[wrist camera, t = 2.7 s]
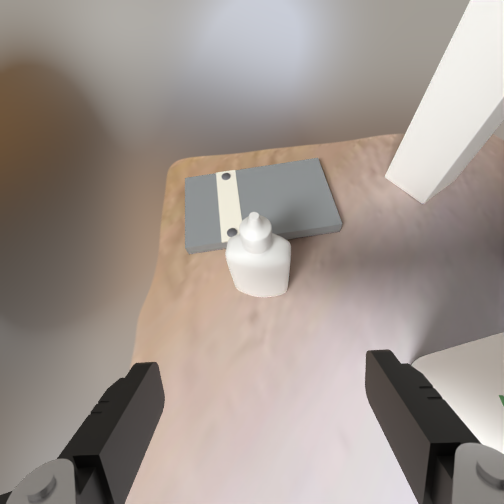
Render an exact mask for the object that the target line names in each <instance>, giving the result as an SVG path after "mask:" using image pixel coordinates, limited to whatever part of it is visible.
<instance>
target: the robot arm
mask: <svg viewBox="0 0 504 504" xmlns="http://www.w3.org/2000/svg"><path fill="white" fill-rule="evenodd" d="M365 389H366V394H367V398H368V401H369V404H370V406H371V408H372V410H373V412H374V414H375V416H376V418H377V420H378V422H379V424H380V426H381V428H382V430H383V432H384V434H385V436H386V438H387V440H388V442H389V444H390V446H391V448H392V450H393V453H394V455H395V457H396V459H397V461H398V463H399V465H400V467H401V469H402V471H403V473H404V475H405V477H406V479H407V481H408V483H409V485H410V487H411V489H412V491H413V493H414V495H415V497H416V499H417V501H418V503H419V504H504V454H503V453H501V452H499V451H498V450H495V449H493V448H491V447H488V446H486V445H482V444H481V442H480V441H479V440H478V439H477V438H476V437H475V435H474V434H473V433H472V432H471V431H470V429H469V428H468V427H467V426H466V425H465V423H464V422H463V421H462V420H461V419H460V418H459V416H458V415H457V414H456V413H455V412H454V410H453V409H452V408H451V407H450V406H449V404H448V403H447V402H446V401H445V400H444V399H442V396H441V395H440V394H439V393H438V391H437V390H436V389H435V388H433V385H432V384H431V383H430V382H429V381H428V379H427V378H426V377H425V376H424V375H423V373H421V372H420V371H418V370H417V369H415V368H414V367H412V366H411V365H409V364H408V363H407V364H401V363H400V362H399V361H398V359H397V358H396V357H395V355H394V354H393V353H392V352H391V351H390V350H370V351H367V353H366V373H365ZM164 401H165V396H164V390H163V385H162V380H161V376H160V371H159V367H158V364H157V363H156V362H145V363H135V364H134V365H133V367H132V368H131V370H130V371H129V373H128V374H127V376H126V377H125V378H120V379H119V380H118V381H116V382H115V383H114V384H113V385H112V386H110V387H109V388H108V389H107V390H106V392H105V393H104V394H103V396H102V397H101V399H100V400H99V401H98V404H96V405H95V407H94V408H93V410H92V411H91V414H90V415H88V417H87V418H86V419H85V421H84V422H83V423H82V425H81V426H80V428H79V429H78V430H77V432H76V433H75V435H74V436H73V437H72V439H71V440H70V441H69V443H68V444H67V446H66V447H65V449H64V450H63V451H62V453H61V454H60V455H59V457H58V458H57V459H56V460H52V461H49V462H47V463H45V464H43V465H41V466H39V467H38V468H36V469H35V470H33V471H32V472H31V473H29V474H28V475H27V476H26V477H25V478H24V479H23V480H22V481H21V482H20V483H19V484H18V485H17V486H16V488H15V489H14V490H13V491H11V492H8V493H6V494H3V495H0V504H125V501H126V499H127V496H128V494H129V491H130V489H131V487H132V484H133V482H134V479H135V477H136V475H137V472H138V470H139V467H140V465H141V463H142V460H143V458H144V455H145V453H146V451H147V448H148V446H149V443H150V441H151V438H152V436H153V434H154V431H155V429H156V426H157V424H158V422H159V419H160V417H161V414H162V412H163V408H164Z"/></svg>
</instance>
